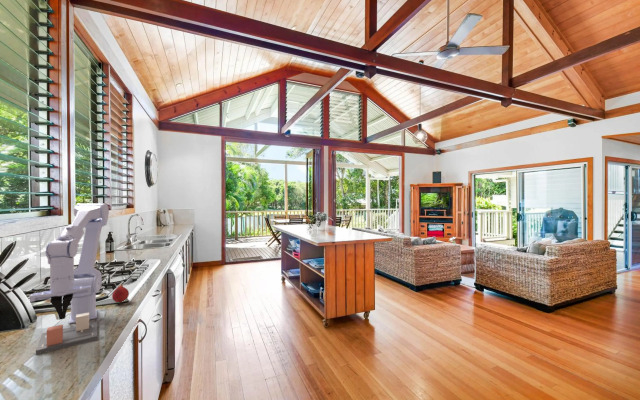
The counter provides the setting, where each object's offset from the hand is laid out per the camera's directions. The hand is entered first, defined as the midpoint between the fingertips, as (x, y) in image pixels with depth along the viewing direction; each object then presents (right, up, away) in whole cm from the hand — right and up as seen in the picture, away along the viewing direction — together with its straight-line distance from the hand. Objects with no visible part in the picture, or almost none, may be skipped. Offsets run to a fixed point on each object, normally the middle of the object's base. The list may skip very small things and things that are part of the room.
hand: (62, 318), depth 92 cm
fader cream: (+4, -5, +3) cm, 7 cm away
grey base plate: (+3, -6, -1) cm, 7 cm away
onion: (-1, -6, +29) cm, 30 cm away
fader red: (+4, -5, -6) cm, 9 cm away
